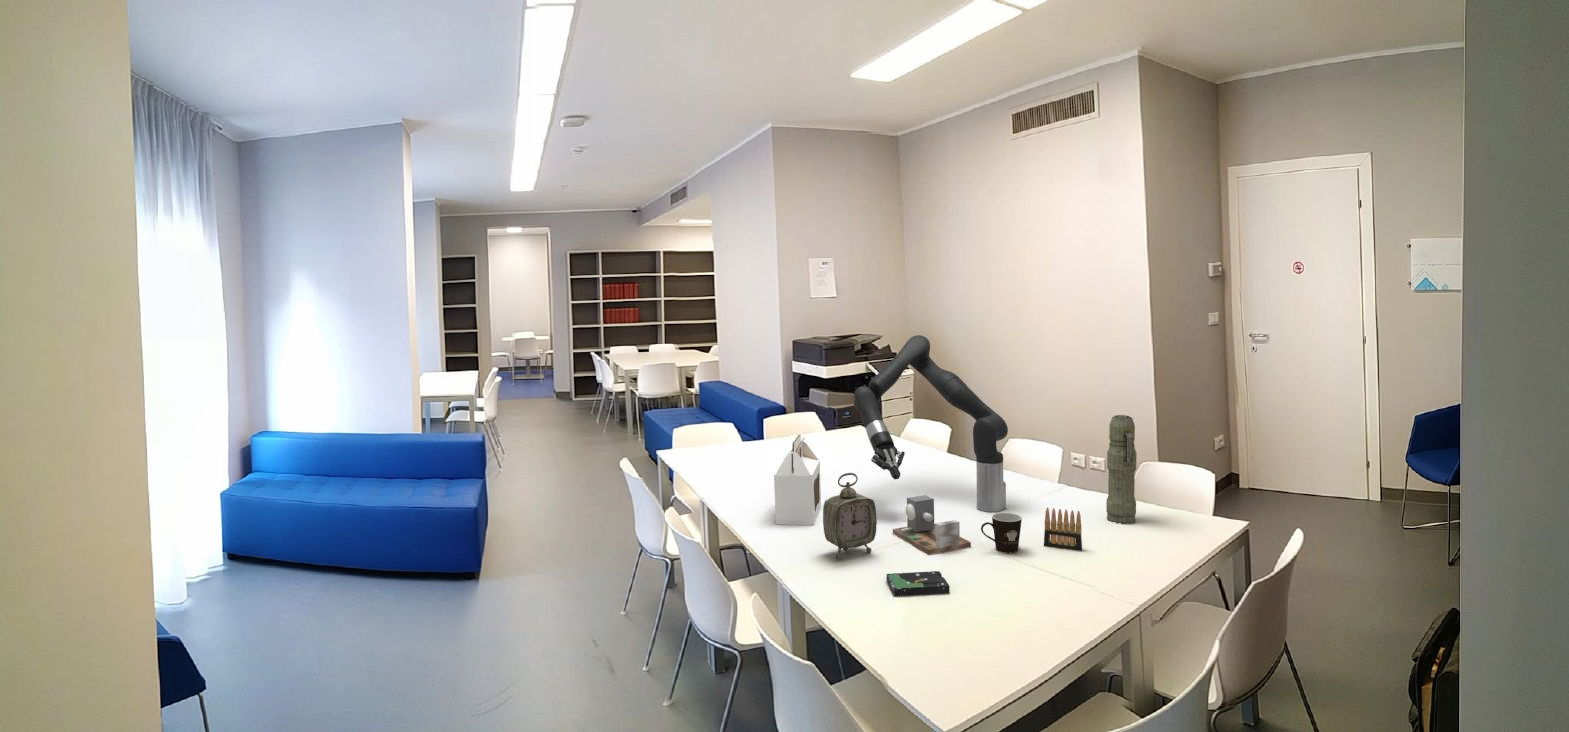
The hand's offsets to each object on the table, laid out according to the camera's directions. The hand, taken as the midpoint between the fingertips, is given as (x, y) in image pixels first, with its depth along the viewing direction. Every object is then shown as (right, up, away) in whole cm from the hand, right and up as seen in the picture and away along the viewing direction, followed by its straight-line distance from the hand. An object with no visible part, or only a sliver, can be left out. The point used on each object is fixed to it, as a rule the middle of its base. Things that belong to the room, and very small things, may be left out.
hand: (897, 478), depth 246 cm
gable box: (-33, -16, +13) cm, 39 cm away
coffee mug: (+27, -17, -27) cm, 42 cm away
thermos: (+74, -13, -5) cm, 75 cm away
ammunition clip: (+45, -17, -28) cm, 56 cm away
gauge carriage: (+5, -15, -14) cm, 21 cm away
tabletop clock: (-19, -19, -27) cm, 38 cm away
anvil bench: (+8, -17, -18) cm, 25 cm away
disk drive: (-3, -22, -53) cm, 57 cm away
